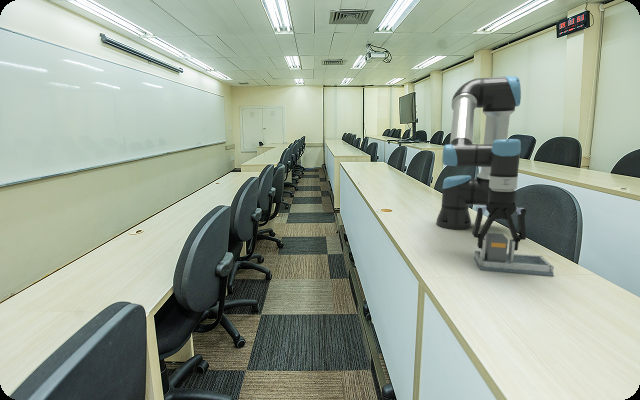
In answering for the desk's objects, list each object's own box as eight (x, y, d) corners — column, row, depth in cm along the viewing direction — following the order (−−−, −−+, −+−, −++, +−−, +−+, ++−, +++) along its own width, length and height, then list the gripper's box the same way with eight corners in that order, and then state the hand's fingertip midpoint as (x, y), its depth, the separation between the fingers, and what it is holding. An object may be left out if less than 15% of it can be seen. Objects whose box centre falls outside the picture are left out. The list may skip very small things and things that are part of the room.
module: (483, 258, 108) (485, 232, 106) (499, 259, 106) (502, 233, 104) (487, 265, 102) (490, 238, 100) (505, 266, 100) (508, 239, 99)
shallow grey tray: (473, 258, 110) (474, 250, 110) (539, 263, 105) (540, 255, 105) (480, 270, 101) (481, 261, 100) (553, 276, 96) (554, 267, 95)
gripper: (468, 191, 98) (464, 260, 103) (545, 192, 93) (536, 265, 97) (464, 187, 105) (460, 252, 110) (535, 188, 100) (527, 256, 105)
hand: (496, 258), depth 104 cm, fingers open, 8 cm apart
